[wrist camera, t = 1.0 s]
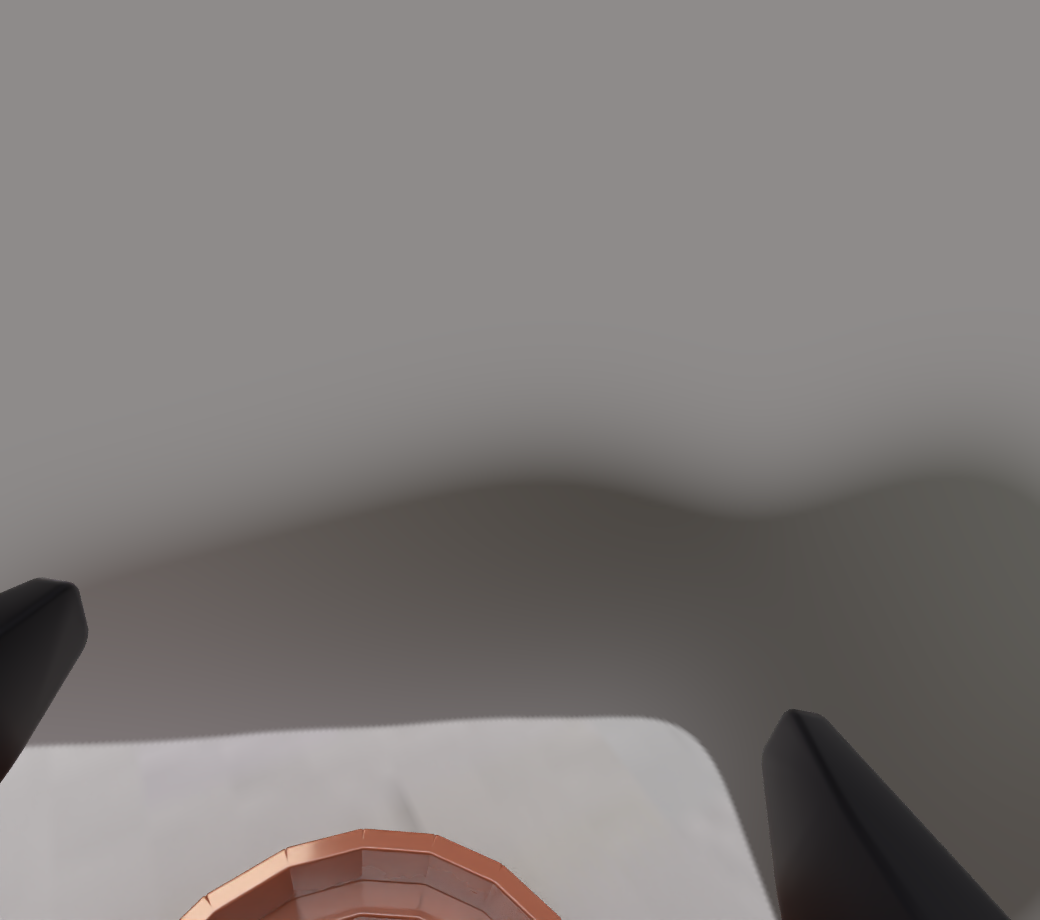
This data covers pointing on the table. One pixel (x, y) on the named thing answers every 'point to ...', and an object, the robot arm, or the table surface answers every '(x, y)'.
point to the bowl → (374, 883)
